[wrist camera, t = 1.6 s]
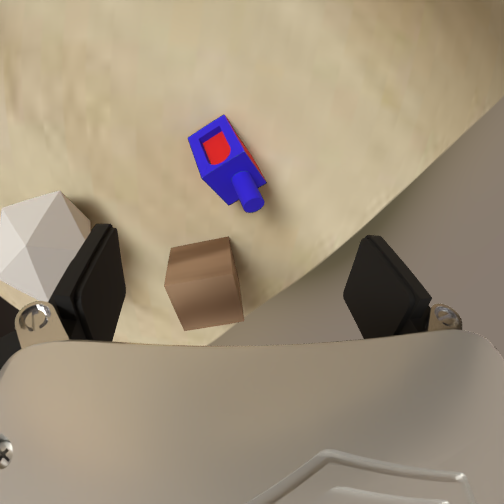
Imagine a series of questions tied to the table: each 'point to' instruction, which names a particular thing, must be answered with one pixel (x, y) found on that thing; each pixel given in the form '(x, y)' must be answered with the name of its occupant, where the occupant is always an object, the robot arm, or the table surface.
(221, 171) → the toy building block
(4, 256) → the die
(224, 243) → the walnut cube
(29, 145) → the table surface
